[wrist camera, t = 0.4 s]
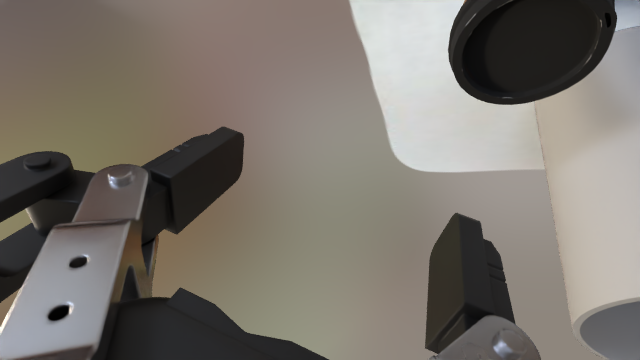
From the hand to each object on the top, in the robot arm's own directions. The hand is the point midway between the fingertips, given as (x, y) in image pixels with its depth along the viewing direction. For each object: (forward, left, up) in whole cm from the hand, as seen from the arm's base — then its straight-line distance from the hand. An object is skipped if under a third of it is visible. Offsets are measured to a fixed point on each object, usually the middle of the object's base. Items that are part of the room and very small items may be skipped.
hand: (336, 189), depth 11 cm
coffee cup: (+5, +5, -28) cm, 29 cm away
